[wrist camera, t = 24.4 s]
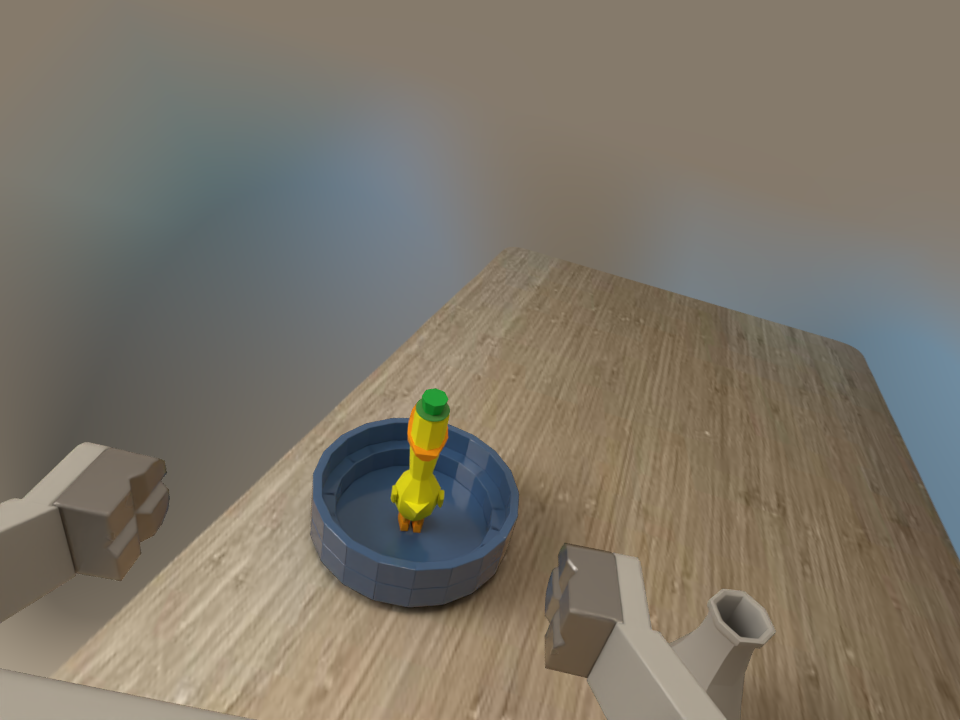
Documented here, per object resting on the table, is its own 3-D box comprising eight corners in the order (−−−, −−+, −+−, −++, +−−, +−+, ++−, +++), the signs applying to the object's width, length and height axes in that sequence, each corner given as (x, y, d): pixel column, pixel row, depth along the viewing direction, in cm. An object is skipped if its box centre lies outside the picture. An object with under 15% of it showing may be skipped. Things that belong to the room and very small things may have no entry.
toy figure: (390, 483, 46) (410, 354, 40) (436, 488, 47) (463, 361, 40) (382, 555, 41) (405, 418, 34) (435, 559, 41) (466, 425, 35)
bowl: (278, 589, 38) (279, 542, 36) (343, 444, 50) (347, 402, 48) (498, 634, 38) (513, 590, 36) (509, 479, 50) (522, 439, 48)
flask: (592, 671, 37) (646, 568, 32) (684, 646, 40) (748, 547, 35) (657, 801, 32) (735, 703, 27) (758, 761, 35) (847, 665, 29)
